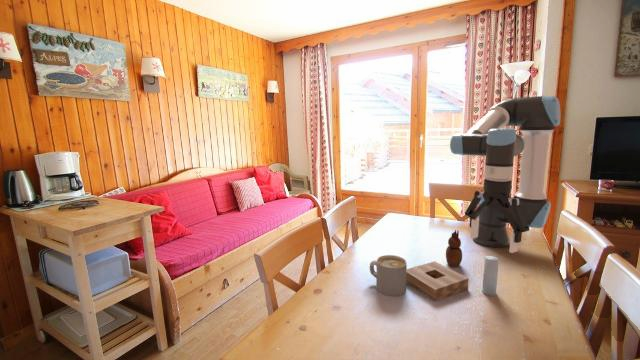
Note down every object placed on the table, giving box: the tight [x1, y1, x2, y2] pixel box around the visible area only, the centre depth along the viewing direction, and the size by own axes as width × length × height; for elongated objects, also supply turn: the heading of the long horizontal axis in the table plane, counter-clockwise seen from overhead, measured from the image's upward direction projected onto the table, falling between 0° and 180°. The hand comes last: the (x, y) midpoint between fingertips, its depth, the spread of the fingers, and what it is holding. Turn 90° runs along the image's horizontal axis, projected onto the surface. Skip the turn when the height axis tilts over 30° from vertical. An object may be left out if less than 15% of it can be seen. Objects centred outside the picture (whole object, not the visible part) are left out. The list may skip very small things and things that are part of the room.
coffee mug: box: [369, 254, 408, 297], centre depth 108 cm, size 13×10×10 cm
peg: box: [481, 255, 500, 297], centre depth 102 cm, size 4×4×12 cm
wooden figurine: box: [445, 229, 463, 268], centre depth 122 cm, size 7×6×15 cm
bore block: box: [406, 260, 469, 302], centre depth 109 cm, size 15×15×4 cm
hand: (492, 244), depth 100 cm, fingers open, 13 cm apart
